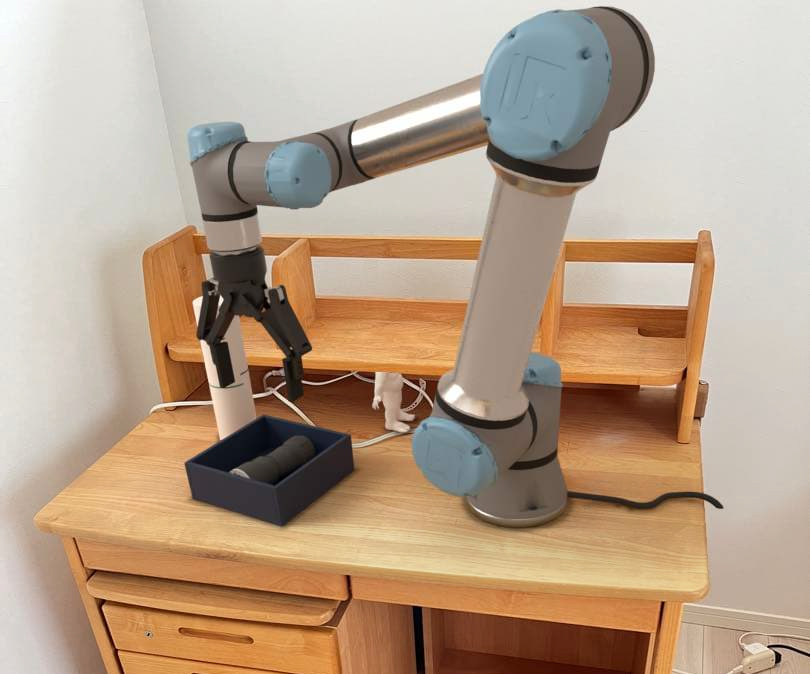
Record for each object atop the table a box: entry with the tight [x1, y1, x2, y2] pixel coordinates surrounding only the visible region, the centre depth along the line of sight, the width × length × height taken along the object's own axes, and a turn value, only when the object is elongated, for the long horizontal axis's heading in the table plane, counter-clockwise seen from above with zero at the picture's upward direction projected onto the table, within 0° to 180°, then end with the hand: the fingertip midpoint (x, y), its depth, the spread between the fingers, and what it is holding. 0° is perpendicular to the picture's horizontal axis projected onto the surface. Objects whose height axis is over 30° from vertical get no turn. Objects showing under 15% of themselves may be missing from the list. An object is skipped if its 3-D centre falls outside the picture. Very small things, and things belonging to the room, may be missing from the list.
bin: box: [183, 413, 355, 527], centre depth 132 cm, size 18×19×7 cm
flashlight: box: [229, 436, 315, 485], centre depth 133 cm, size 15×5×5 cm, turn 144°
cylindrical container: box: [192, 295, 258, 441], centre depth 143 cm, size 7×7×25 cm
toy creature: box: [371, 371, 416, 434], centre depth 147 cm, size 12×6×12 cm, turn 168°
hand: (261, 391), depth 125 cm, fingers open, 13 cm apart
